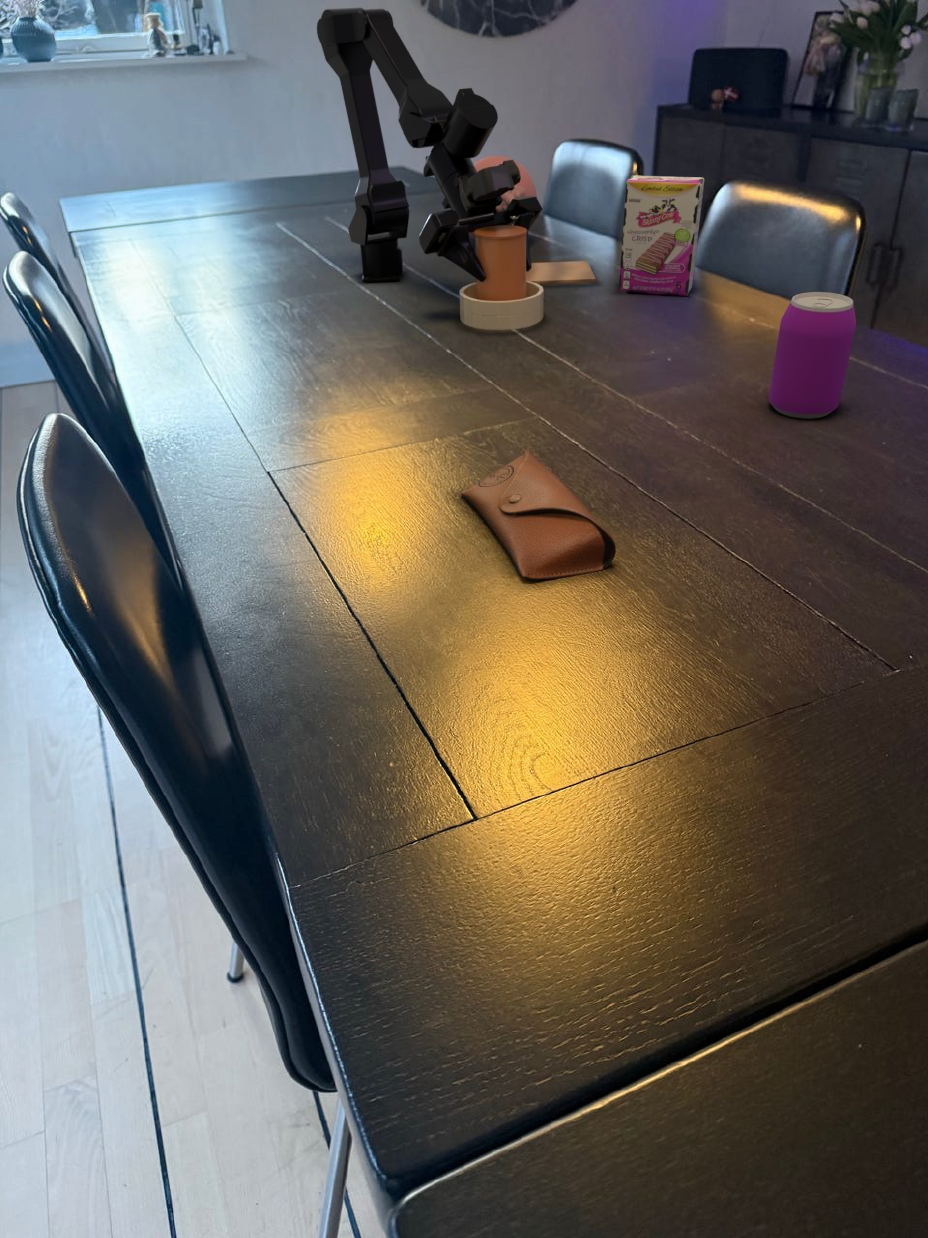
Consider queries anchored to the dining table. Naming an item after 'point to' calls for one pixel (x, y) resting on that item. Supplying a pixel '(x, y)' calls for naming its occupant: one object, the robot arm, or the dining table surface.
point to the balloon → (520, 189)
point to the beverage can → (812, 354)
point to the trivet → (560, 272)
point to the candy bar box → (660, 234)
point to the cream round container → (501, 309)
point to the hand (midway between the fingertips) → (507, 274)
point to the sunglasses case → (541, 521)
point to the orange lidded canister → (501, 262)
